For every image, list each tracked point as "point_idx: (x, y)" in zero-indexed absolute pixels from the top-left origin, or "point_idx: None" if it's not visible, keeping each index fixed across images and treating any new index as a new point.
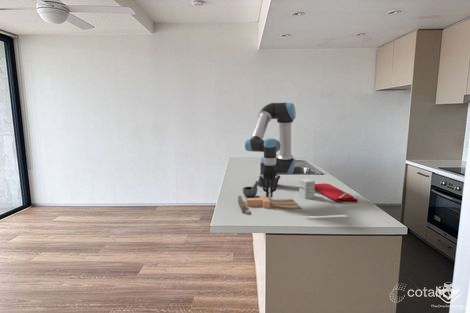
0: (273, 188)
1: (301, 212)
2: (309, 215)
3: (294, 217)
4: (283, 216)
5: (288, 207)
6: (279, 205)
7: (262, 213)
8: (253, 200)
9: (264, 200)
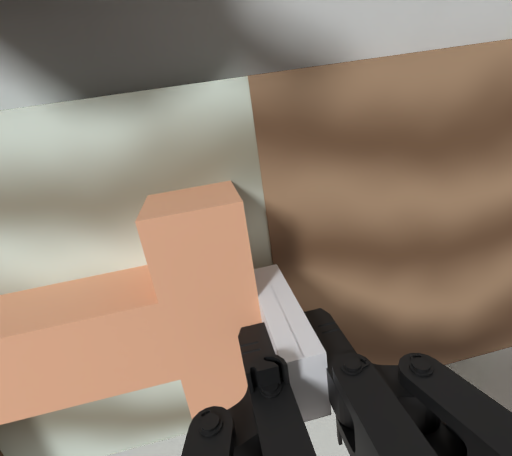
0: (424, 402)
1: (482, 360)
2: (506, 400)
3: None
4: (338, 451)
5: (426, 327)
6: (362, 285)
7: (186, 435)
8: (56, 405)
9: (209, 400)
